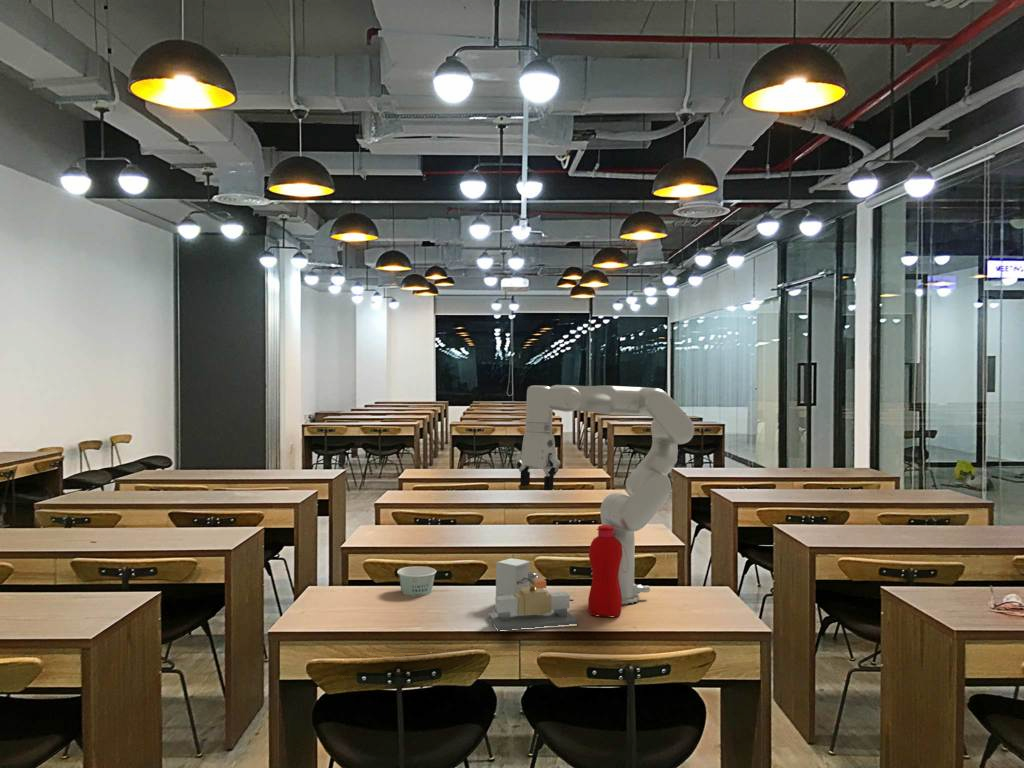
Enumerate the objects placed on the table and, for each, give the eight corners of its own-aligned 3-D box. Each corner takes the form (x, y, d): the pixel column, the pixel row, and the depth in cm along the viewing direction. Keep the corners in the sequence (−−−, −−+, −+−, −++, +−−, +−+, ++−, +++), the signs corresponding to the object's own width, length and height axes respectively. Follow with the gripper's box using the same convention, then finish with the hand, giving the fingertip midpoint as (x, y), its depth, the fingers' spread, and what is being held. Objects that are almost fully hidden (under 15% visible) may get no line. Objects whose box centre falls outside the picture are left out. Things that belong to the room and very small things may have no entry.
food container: (405, 599, 260) (405, 577, 260) (391, 589, 270) (391, 568, 270) (442, 594, 266) (442, 573, 265) (426, 585, 276) (427, 564, 276)
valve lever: (526, 579, 239) (526, 572, 239) (536, 578, 240) (536, 572, 240) (536, 588, 229) (536, 581, 229) (546, 588, 230) (546, 581, 230)
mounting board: (564, 613, 247) (564, 608, 247) (577, 626, 235) (577, 620, 235) (488, 618, 242) (488, 613, 241) (498, 631, 230) (498, 626, 230)
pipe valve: (564, 611, 244) (564, 576, 243) (570, 617, 238) (571, 581, 238) (494, 615, 239) (494, 580, 238) (499, 622, 233) (499, 586, 233)
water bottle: (626, 619, 241) (627, 529, 240) (586, 617, 243) (587, 528, 243) (628, 610, 250) (629, 523, 249) (590, 607, 253) (591, 521, 252)
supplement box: (515, 609, 250) (515, 565, 250) (494, 604, 255) (495, 561, 254) (530, 603, 256) (530, 560, 256) (510, 599, 261) (510, 557, 260)
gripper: (569, 430, 248) (567, 490, 248) (527, 425, 260) (525, 483, 261) (550, 431, 242) (548, 492, 243) (508, 426, 255) (506, 484, 256)
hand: (536, 487), depth 252 cm, fingers open, 9 cm apart
